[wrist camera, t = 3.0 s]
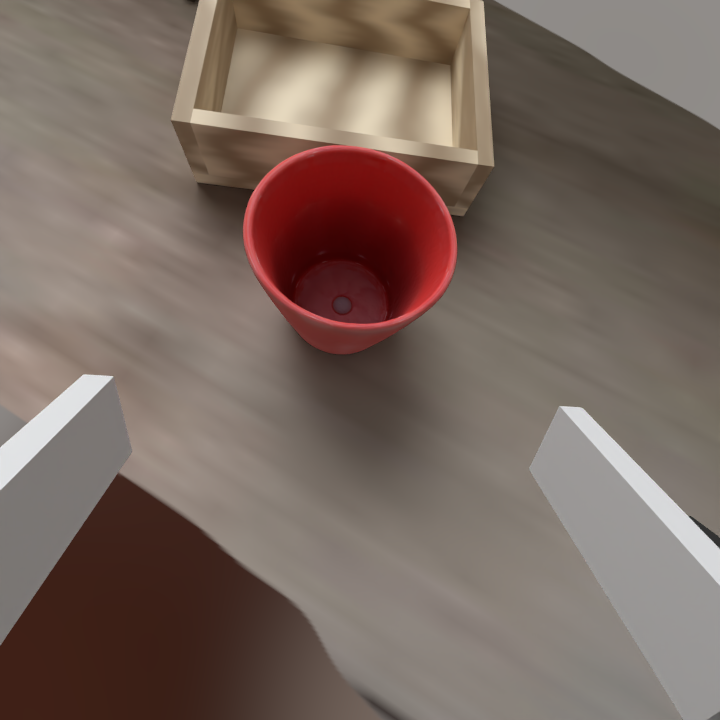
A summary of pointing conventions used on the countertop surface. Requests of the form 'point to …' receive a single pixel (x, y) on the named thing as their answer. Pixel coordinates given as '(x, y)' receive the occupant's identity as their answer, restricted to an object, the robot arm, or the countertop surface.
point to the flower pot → (349, 245)
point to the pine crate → (338, 88)
